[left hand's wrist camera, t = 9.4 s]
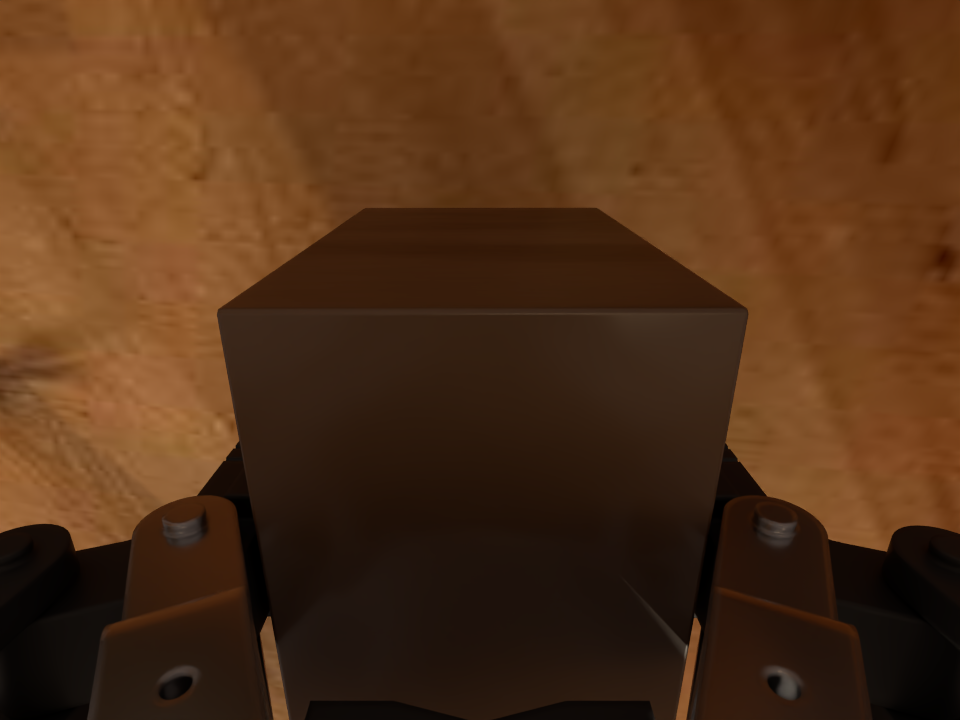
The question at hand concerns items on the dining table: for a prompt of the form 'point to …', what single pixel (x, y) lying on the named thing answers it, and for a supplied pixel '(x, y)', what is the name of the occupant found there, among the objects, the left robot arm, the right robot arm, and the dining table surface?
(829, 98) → the dining table surface
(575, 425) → the box
